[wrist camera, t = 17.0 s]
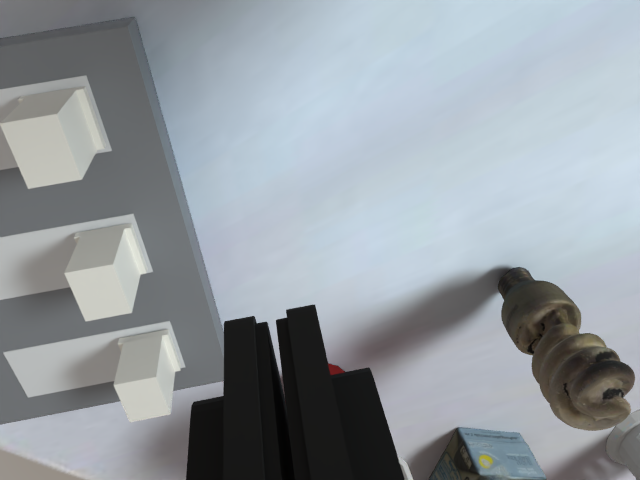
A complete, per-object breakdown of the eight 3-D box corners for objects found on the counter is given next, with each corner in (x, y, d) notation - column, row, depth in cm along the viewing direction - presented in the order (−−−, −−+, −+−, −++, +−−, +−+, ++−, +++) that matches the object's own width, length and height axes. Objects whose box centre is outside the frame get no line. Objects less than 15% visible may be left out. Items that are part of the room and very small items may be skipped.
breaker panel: (-178, 66, 33) (-213, 80, 30) (135, 16, 34) (127, 26, 31) (12, 396, 47) (-1, 425, 44) (229, 354, 48) (229, 380, 45)
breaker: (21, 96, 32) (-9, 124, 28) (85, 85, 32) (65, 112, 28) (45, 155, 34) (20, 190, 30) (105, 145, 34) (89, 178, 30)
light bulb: (532, 300, 50) (638, 439, 37) (471, 307, 49) (558, 450, 36) (543, 245, 47) (662, 374, 34) (479, 252, 46) (575, 386, 33)
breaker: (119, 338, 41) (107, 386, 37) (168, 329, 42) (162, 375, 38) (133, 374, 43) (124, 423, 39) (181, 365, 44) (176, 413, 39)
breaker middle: (75, 233, 37) (57, 274, 33) (131, 223, 37) (120, 262, 33) (94, 278, 39) (78, 322, 35) (147, 268, 39) (138, 311, 35)
